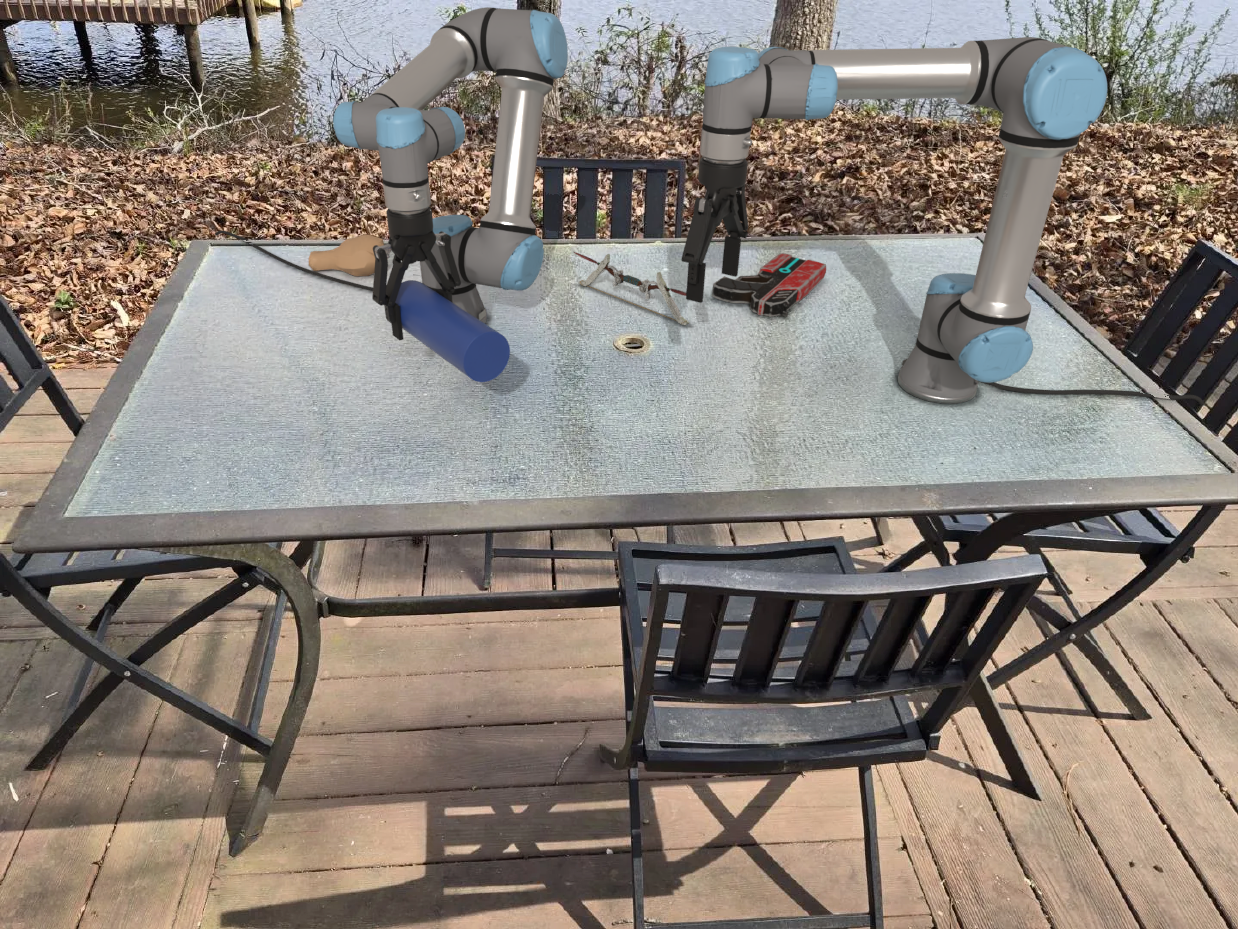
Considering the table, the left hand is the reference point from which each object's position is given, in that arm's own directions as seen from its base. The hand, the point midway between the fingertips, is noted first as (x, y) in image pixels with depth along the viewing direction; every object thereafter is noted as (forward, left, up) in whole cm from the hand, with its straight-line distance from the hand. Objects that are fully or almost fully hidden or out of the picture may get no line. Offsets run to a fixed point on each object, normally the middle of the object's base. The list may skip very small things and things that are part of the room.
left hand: (422, 330), depth 160 cm
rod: (+9, -1, -1) cm, 9 cm away
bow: (-7, +61, -14) cm, 63 cm away
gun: (+10, +93, -14) cm, 94 cm away
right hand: (+41, +32, +13) cm, 53 cm away
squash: (-67, +22, -14) cm, 72 cm away
